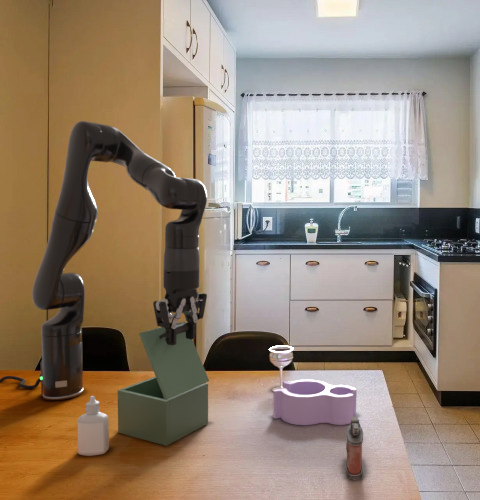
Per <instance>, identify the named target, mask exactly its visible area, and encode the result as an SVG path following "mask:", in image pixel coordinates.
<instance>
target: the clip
mask: <svg viewBox="0 0 480 500" xmlns="http://www.w3.org/2000/svg"><path fill="white" fill-rule="evenodd" d="M282 387H283V388H281V389H275V390H273V391H272V392H273V395H272V397H273V399H272V401H273V402H272V405H273V406H272V418H273V419H275V420H276V419H281V420H283V421H284V422H285V423H288V424H291V425H298V426H310V425H311V426H312V425H316V424H322V423H323V424H324V423H325V424H326V423H327V424H330V425H335V426H343V425H344V426H345V425H351V419H352V417H357V388H356V387H354V386H351V385H347V384H346V385H345V384H331V383H327V382H326V381H322V380H318V379H297V380H292V381H289V380H282Z"/></svg>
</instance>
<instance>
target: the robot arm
mask: <svg viewBox="0 0 480 500" xmlns="http://www.w3.org/2000/svg"><path fill="white" fill-rule="evenodd" d="M91 162H97V163H99V162H100V163H112V164H117V165H120V166H122V167H124V168H125V171H126V173H127V175H128V177H129V178H130V179H131V181H133V182H134V183H135V184H137V185H139V186H140V187H141V188H143V189H145V190H146V191H148V192H149V193H150V195H151V196H152V197H153V198H154V200H155V202H157V203H158V204H159V206H161V207H163V208H166V209H169V210H180V214H179V216H178V217H177V218H176V219H174V220H170V221H168V222H167V223H166V224H165V227H164V251H163V252H164V253H163V282H162V283H163V285H162V286H163V288H164V289H165V295H164V297H163V299H161V300H154V301H153V303H152V305H153V310H154V315H155V321H156V326H157V327H158V328H160V327H164V328H165V341H166V343H167V344H168V345H176V325H177V323H178V322H179V321H178V320H180V319H181V317H182V314H183V315H184V318H185V323H186V324H188V326H189V330H188V331H187V332H186V338H187V339H191V340H195V339H196V335H197V323H198V322H199V320H202V319H204V315H205V308H206V304H207V297H208V294H207V293H205V292H204V293H203V292H198V290H197V289H199V288H200V266H201V265H200V264H201V263H200V262H201V261H200V257H201V256H200V249H199V247H200V245H199V244H200V243H199V242H200V238H199V237H200V234H199V233H200V232H199V231H200V227H201V224H202V220H203V217H204V213H205V210H206V206H207V202H208V193H207V189H206V186H205V185H204V183H203V182H202V181H201V180H199V179H197V178H190V177H189V178H187V177H178V176H176V175H175V172H174V171H173V170H172V169H171V168H170V167H169V166H167V165H166V164H164V163H162V162H160V161H159V160H158V159H156V158H154V157H153V156H151V155H149V154H147V153H146V152H145V151H143V150H142V149H141V148H140V147H138V146H137V145H136V144H135V143H134V142H133V141H132V140H131V139H130V138H129V137H128V136H127V135H125V134H124V133H123V132H122V131H121V130H120V129H118V128H117V127H114V126H112V125H108V124H103V123H98V122H92V121H86V120H80V121H77V122H76V123H75V124H74V125H73V127H72V129H71V131H70V134H69V138H68V143H67V150H66V158H65V163H64V164H65V165H64V170H63V171H64V172H63V178H62V182H61V187H60V191H59V195H58V199H57V202H56V206H55V210H54V213H53V218H52V222H51V227H50V232H49V234H48V240H47V243H46V247H45V251H44V254H43V256H42V260H41V262H40V265H39V266H38V269H37V272H36V275H35V278H34V281H33V285H32V291H31V297H32V298H31V299H32V303H33V305H34V306H35V307H36V308H37V309H39V310H43V311H50V310H58V309H59V311H58V312H57V313H56V314H54V316H53V317H51V318H49V319H48V320H46V321H44V322H43V323H42V324H41V326H40V333H41V361H40V373H39V378H37V379H36V382H35V384H33V385H28V384H25V383H26V379H25V378H22V377H19V376H14V375H5V376H2V377H1V378H0V383H2V382H3V381H5V380H14V381H18V382H19V383H18V386H19V387H20V388H23V389H27V390H28V389H29V390H32V389H33V390H34V389H36V388H38V386H39V385H40V388H41V389H40V392H41V394H40V395H41V396H42V399H43V400H46V401H63V400H64V401H65V400H68V399H69V400H70V399H73V398H76V397H79V396H80V395H82V394H83V393H84V390H85V389H84V369H83V368H84V367H83V366H84V365H83V364H84V362H83V361H84V360H83V323H84V319H85V303H86V291H85V290H86V289H85V284H84V283H85V282H84V280H83V278H82V277H81V275H80V274H79V273H76V272H64V270H65V268H66V267H67V265H68V263H69V262H70V261H71V259H73V257H74V256H75V255H76V254H78V253H79V251H80V250H82V249H83V248H84V246H85V245H86V244H87V243H88V242H89V241H90V239H91V238H92V236H93V233H94V230H95V226H96V223H97V220H98V215H99V210H98V206H97V202H96V200H95V197H94V196H93V193H92V191H91V188H90V186H89V181H88V175H89V169H90V164H91Z"/></svg>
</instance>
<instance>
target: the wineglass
mask: <svg viewBox="0 0 480 500" xmlns="http://www.w3.org/2000/svg"><path fill="white" fill-rule="evenodd" d="M293 350H294V347H292V346H289V345H275V346H272V347H270V348H269V354H268V358H269V362H270V363H271V364H272V365H273V366H275V367H277V368H278V369H279V386H276V387H274V388H272V389H271V391H272V392H273V390H275V389H281V388H283V369H284V368H285V367H286V366H288V365H290V364H291V363H292V361H293V359H294V353H293Z"/></svg>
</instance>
